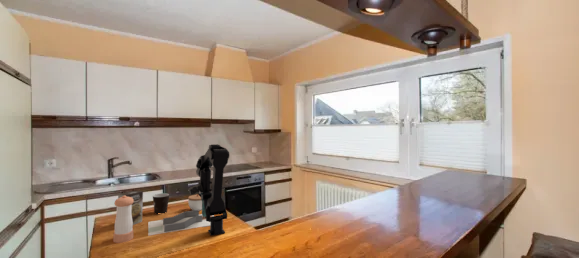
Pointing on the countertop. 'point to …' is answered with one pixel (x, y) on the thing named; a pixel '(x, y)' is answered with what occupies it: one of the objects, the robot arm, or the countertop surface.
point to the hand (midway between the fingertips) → (204, 208)
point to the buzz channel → (178, 223)
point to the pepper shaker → (123, 220)
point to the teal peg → (203, 209)
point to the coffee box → (135, 205)
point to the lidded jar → (195, 202)
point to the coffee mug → (160, 202)
